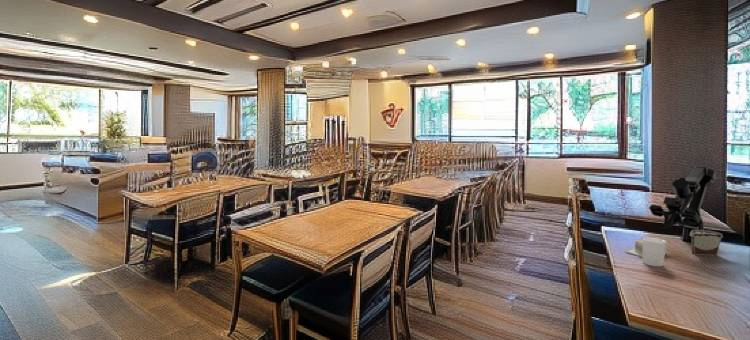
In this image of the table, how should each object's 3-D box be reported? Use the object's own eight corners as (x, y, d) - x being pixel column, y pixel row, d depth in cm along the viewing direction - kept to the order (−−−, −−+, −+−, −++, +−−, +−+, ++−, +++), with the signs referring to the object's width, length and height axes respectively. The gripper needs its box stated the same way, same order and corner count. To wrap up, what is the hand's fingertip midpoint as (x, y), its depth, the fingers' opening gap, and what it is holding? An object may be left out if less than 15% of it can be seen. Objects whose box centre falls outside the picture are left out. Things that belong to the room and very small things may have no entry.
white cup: (660, 261, 158) (662, 238, 157) (667, 268, 151) (670, 243, 150) (638, 259, 161) (640, 236, 160) (644, 265, 154) (646, 241, 152)
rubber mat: (644, 248, 176) (644, 247, 176) (665, 254, 168) (665, 253, 168) (625, 252, 170) (625, 251, 170) (646, 258, 162) (646, 257, 162)
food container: (709, 251, 173) (712, 229, 172) (720, 255, 167) (723, 233, 166) (681, 250, 174) (683, 228, 173) (690, 254, 168) (693, 232, 167)
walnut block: (651, 237, 174) (635, 240, 169) (663, 240, 170) (647, 243, 165) (650, 248, 175) (634, 251, 170) (662, 251, 170) (646, 254, 165)
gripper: (653, 187, 182) (637, 212, 179) (699, 193, 165) (682, 221, 162) (661, 202, 186) (645, 226, 183) (707, 210, 170) (691, 236, 166)
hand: (665, 227), depth 174 cm, fingers closed
